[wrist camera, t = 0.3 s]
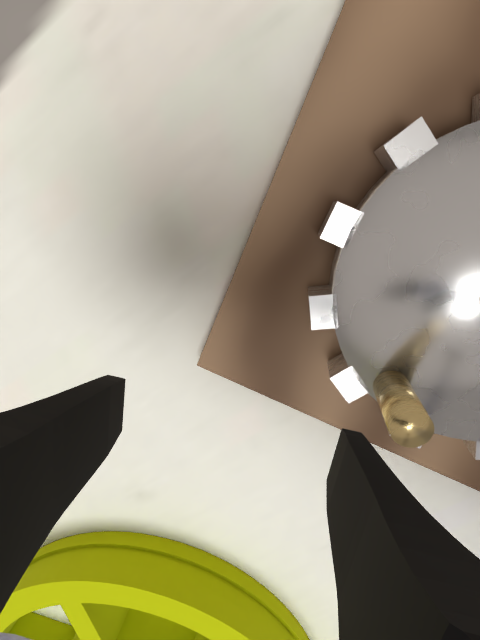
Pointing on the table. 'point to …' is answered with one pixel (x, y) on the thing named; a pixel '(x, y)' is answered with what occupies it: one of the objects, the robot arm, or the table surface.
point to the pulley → (142, 594)
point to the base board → (349, 189)
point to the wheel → (411, 287)
